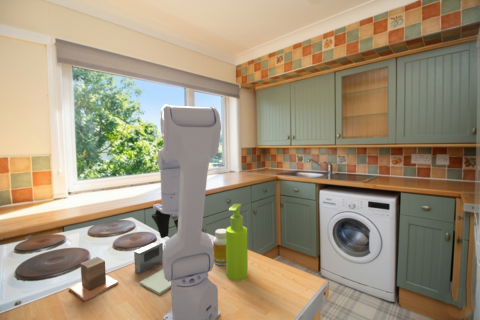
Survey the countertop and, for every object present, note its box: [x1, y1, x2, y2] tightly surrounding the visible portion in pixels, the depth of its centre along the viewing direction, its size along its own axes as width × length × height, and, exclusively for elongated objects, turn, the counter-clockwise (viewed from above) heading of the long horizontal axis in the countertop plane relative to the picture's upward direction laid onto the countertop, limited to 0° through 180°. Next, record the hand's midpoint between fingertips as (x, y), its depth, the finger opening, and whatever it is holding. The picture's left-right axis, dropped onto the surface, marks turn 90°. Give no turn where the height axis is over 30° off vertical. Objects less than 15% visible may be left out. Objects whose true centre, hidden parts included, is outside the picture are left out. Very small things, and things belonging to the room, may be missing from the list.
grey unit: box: [133, 240, 164, 275], centre depth 71 cm, size 3×8×6 cm, turn 147°
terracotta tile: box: [69, 274, 119, 302], centre depth 61 cm, size 8×8×1 cm
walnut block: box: [80, 256, 107, 291], centre depth 61 cm, size 4×4×6 cm
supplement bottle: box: [212, 228, 226, 266], centre depth 73 cm, size 5×5×10 cm
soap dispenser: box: [225, 203, 249, 282], centre depth 65 cm, size 6×7×20 cm
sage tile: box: [139, 268, 171, 296], centre depth 64 cm, size 8×8×1 cm
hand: (173, 239), depth 67 cm, fingers open, 7 cm apart
